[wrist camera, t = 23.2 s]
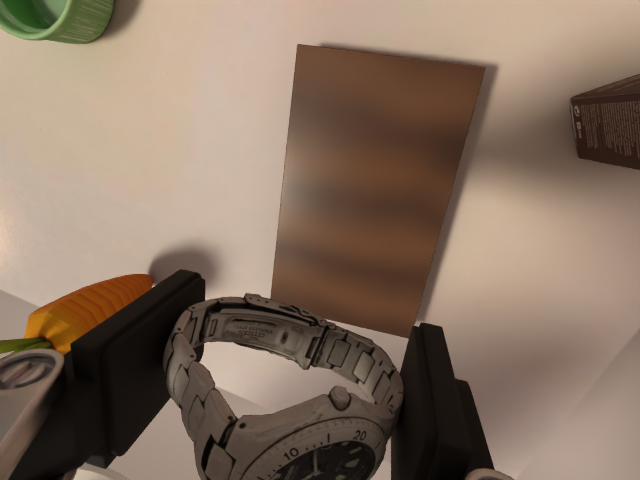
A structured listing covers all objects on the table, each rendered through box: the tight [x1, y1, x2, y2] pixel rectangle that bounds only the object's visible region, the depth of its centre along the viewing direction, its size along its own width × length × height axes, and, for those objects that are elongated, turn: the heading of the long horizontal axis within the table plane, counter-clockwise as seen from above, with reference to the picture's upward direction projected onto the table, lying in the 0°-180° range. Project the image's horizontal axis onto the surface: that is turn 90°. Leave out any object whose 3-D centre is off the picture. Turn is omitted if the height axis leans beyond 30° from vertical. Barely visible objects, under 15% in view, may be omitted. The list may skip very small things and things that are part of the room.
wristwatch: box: [163, 293, 404, 480], centre depth 8 cm, size 4×6×5 cm, turn 71°
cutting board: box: [270, 44, 485, 338], centre depth 26 cm, size 20×12×2 cm, turn 172°
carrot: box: [0, 274, 154, 356], centre depth 27 cm, size 5×5×15 cm
